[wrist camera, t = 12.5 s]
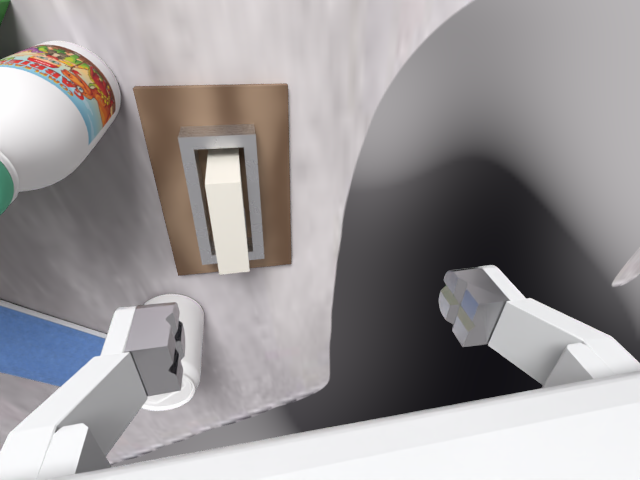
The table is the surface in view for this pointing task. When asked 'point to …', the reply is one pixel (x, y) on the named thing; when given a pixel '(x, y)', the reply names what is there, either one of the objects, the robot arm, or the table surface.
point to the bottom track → (189, 145)
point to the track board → (164, 151)
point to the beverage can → (192, 360)
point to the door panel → (227, 210)
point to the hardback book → (3, 8)
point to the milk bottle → (51, 114)
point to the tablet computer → (44, 345)
